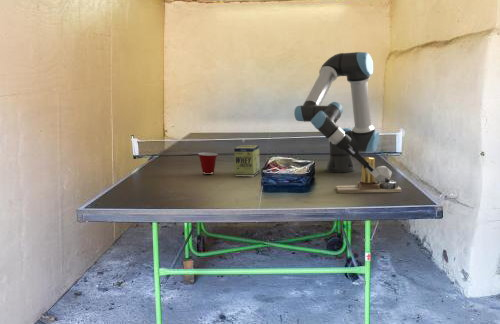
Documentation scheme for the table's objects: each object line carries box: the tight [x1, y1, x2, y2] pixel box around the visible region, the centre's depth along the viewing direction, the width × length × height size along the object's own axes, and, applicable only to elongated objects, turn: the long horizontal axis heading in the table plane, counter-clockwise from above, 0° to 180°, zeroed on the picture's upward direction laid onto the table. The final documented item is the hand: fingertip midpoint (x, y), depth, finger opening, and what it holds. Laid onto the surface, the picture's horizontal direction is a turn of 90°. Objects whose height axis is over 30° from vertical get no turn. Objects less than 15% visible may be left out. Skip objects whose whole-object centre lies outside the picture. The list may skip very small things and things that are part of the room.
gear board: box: [336, 180, 403, 194], centre depth 246 cm, size 10×28×3 cm, turn 86°
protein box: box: [233, 144, 261, 176], centre depth 294 cm, size 10×16×16 cm
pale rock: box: [375, 165, 393, 182], centre depth 262 cm, size 8×9×10 cm
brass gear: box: [360, 156, 376, 183], centre depth 244 cm, size 6×6×11 cm
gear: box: [377, 177, 399, 189], centre depth 245 cm, size 9×9×4 cm
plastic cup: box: [197, 152, 219, 173], centre depth 299 cm, size 11×11×12 cm
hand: (376, 174), depth 245 cm, fingers closed on brass gear, 6 cm apart
